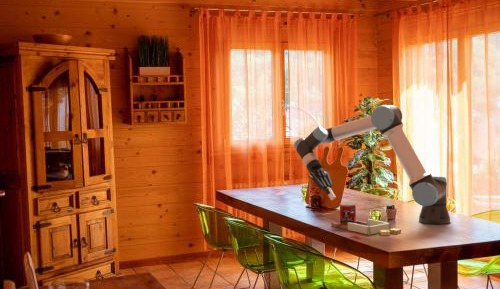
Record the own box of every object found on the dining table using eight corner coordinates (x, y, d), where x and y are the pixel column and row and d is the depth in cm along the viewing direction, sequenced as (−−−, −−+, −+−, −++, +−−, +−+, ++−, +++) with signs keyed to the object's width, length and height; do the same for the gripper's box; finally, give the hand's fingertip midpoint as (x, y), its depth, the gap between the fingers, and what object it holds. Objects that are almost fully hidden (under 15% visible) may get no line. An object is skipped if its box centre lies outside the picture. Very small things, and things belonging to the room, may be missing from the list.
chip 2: (388, 233, 281) (388, 229, 281) (394, 232, 284) (393, 228, 284) (396, 234, 278) (396, 230, 278) (401, 233, 281) (401, 229, 281)
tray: (347, 229, 290) (347, 222, 290) (369, 225, 298) (369, 218, 298) (369, 234, 279) (369, 227, 278) (390, 230, 287) (390, 223, 287)
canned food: (338, 226, 298) (338, 204, 298) (341, 223, 306) (341, 202, 305) (354, 227, 296) (353, 205, 295) (357, 224, 303) (356, 202, 302)
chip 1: (379, 234, 281) (379, 230, 281) (388, 234, 280) (388, 229, 280) (380, 236, 277) (380, 231, 277) (389, 235, 276) (389, 231, 276)
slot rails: (331, 225, 300) (331, 222, 300) (351, 222, 308) (351, 219, 308) (347, 229, 291) (347, 226, 291) (368, 225, 299) (368, 222, 299)
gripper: (318, 167, 326) (339, 201, 314) (299, 168, 319) (320, 204, 306) (324, 158, 322) (346, 192, 309) (305, 159, 314) (327, 195, 302)
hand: (333, 198), depth 308 cm, fingers closed
